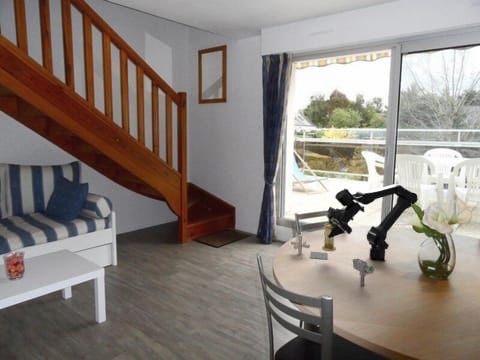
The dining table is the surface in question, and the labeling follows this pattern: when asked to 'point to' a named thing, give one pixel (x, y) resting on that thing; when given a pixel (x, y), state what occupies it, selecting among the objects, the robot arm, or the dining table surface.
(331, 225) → the brass pedestal cup
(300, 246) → the pipe connector
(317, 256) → the mat
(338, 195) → the robot arm
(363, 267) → the grey mottled tree figurine
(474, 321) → the dining table surface
